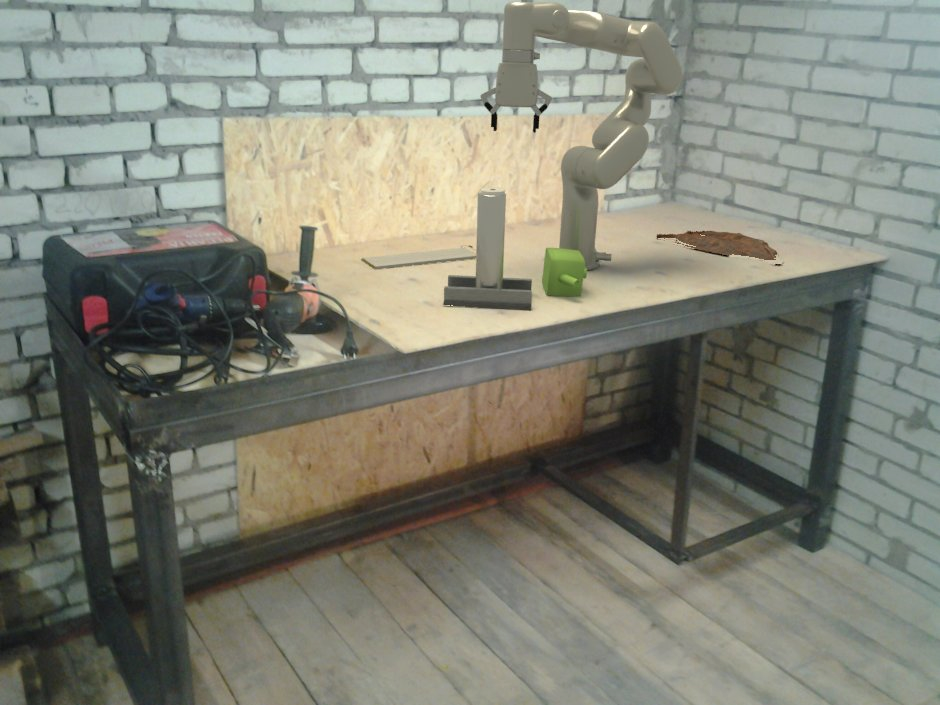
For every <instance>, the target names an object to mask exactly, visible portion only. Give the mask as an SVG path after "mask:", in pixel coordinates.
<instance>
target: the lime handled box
mask: <svg viewBox="0 0 940 705" xmlns="http://www.w3.org/2000/svg"><path fill="white" fill-rule="evenodd" d="M544 252H545V253H544V262H543V268H542V278H541V279H542V280H541V282H542V287H543V289H544V291H545V294H546V296H547V295H548V296H555V297H581V296H582V289H583V282H584V280H585V279H586V278H587V276H588V270H587V269H586V268H585V260H584V258H583V256H582V255H581V253H580V251H579V250H571V249H562V248H559V247H545V250H544Z"/></svg>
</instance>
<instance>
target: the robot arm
mask: <svg viewBox="0 0 940 705" xmlns="http://www.w3.org/2000/svg"><path fill="white" fill-rule="evenodd" d="M503 10H504V11H503V30H502V31H503V34H502V56H501V58H502V59H501V62H499V64H498V67H497V72H496V81H495V82H496V83H495V87H494V88H491V89H490V90H487V91H485V92H483V93H481V94H480V99H481V101H482V103H483V106H484V108H485V109H487V111H488V112H489V113H490V114H491V115H490V127H491V128H493V132H496V131H497V130H498V112H497V111H498V110H499V109H500V108H501V107H507V108H509V107H511V108H530V109H531V110H532V111H533V112H534V115H533V123H532V124H533V125H532V133H534V134H535V133H536V132H537V130H539V129H540V116H541V115H542V114H543V113H544V112H545V111H546V110H547V109H548V108H549V106H550V104H551V102H552V100H553V97H552V96H551V95H550V94H547V93H546V92H544V91H542V89H539V88H538V87H539V86H538V84H539V83H538V80H539V76H538V65H537V64H536V63H534V61H536V60H540V59H541V53H538V52H536V51H535V44H536V42H535V41H536V37H538V38H542V39H546V40H551V41H557V42H561V43H567V44H570V45H574V46H577V47H581V48H582V47H583V48H587V49H592V50H597V51H602V52H607V53H611V54H614V55H617V56H618V55H619V56H623V57H632V58H633V57H634V58H638V59H636V60H634V61H631V63H630V64H629V66H628V67H627V70H626V72H625V77H624V78H625V82H624V83H625V87H624V88H625V91H624V96H623V99H622V100H621V101H620V104H618V105H617V107H616V108H615V109H614V110H613V111H612V112H611V113H610V114H609V115H608V116H607V117H606V118H605V119H604V120H603V121H602V122H601V123H600V124H599V125H598V126H597V128H596V129H595V130H594V132H593V133H592V138H591V143H592V145H593V147H591V146H586V145H577V146H574V147H570V148H569V149H568V150H566V152H565V153H564V154H563V156H562V159H561V164H560V172H561V180H562V181H561V182H562V200H561V201H562V202H561V203H562V204H561V215H560V217H561V218H560V229H559V230H560V233H559V245H558V246H559V247H558V248H562V249H571V250H579V251H580V253H581V255H582V256H583V258H584V260H585V268H586V269H587V271H593V270H596V269H598V268H599V267H600V261H605V262H611V261H612V253H607V252H599V251H597V250H596V247H595V246H596V237H597V223H598V222H597V221H598V212H599V211H598V210H599V192H598V190H608V189H610V188H612V187H614V186H615V185H616V184H617V183H619V182H620V181H621V180H622V179H623V177H624V176H625V175H626V174H628V173H629V172H630V171H631V169H632V168H633V167H634V166H635V165H636V164H637V163H638V162H639V161H640V160H641V159H642V158H643V156H644V155H645V153H646V151H648V150H647V149H648V148H649V147H648V146H649V144H650V142H649V141H650V136H649V132H648V130H647V129H646V127H645V125H646V123H647V122H648V120H649V119H650V117H651V113H652V94H654V95H663V96H667V95H671V94H673V93H675V92H676V91H677V90H678V89H679V88H680V86H681V84H682V82H683V81H682V80H683V69H682V67H681V65H680V62H679V59H678V58H677V55H676V53H675V50H674V49H673V47H672V44H671V43H670V40H669V38H668V37H667V35H666V33H665V31H663V29H662V27H660V25H658V23H655V22H653V21H638V20H637V21H636V20H629V19H626V18H622V17H617V16H614V15H611V14H607V13H603V12H598V11H593V10H592V11H590V10H570V9H567V7H566V6H565V5H563V4H561V3H560V2H554V1H535V2H534V1H532V2H529V1H509V2H507V3H506V4H505V5H504V9H503ZM493 95H494V97H495V100H494V101H495V104H494V105H492V104H491V103H490V102H489V100H488V98H489V97H491V96H493ZM538 96H539V97H540V98H542V99H544V102H543V104H542V105H541V106H540V107H538V106H537V102H538Z"/></svg>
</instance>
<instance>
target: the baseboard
mask: <svg viewBox="0 0 940 705" xmlns="http://www.w3.org/2000/svg"><path fill="white" fill-rule="evenodd" d="M468 248H470V249H474V248H473V245H470V244H469V245H468ZM468 248H466V247H457V248H456V247H455V248H447V249H436V250H425V251H418V252H417V251H416V252H415V251H414V252H408V253H399V254H398V253H397V254H388V255H387V254H386V255H379V256H377V255H376V256H367V257H362V258H361V259H360V260H361V261H362V262H363V263H365V264H366V265H368V266H370V267H371V268H372V267H373V268H372V269H374V270H375V269H377V270H383V269H382V268H386V269H394V267H396V268H403V266H405V267H413V266H412V265H414V266H422V264H424V265H429V264H428V263H433V264H438V263H437V262H442V263H447V262H446V261H451V262H457V261H456V260H461V261H465V260H464V259H470V260H474V259H473V258H476V252H474V251H472V250H470V249H468Z"/></svg>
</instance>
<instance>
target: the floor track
mask: <svg viewBox="0 0 940 705" xmlns="http://www.w3.org/2000/svg"><path fill="white" fill-rule="evenodd" d="M532 282H533V279H532V278H519V277H503V289H493V288H475V286H476V275H460V274H459V275H458V274H457V275H456V274H455V275H454V274H453V275H452V274H449V275H447V285H445V286H443V305H450V306H449V307H453V306H465V307H464V308H473V307H477V308H478V309H494V310H495V309H498V310H517V311H531V309H532V292H533V291H532V287H533V286H532V285H533V284H532ZM443 305H442V306H443ZM451 305H453V306H451ZM477 308H476V309H477Z"/></svg>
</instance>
